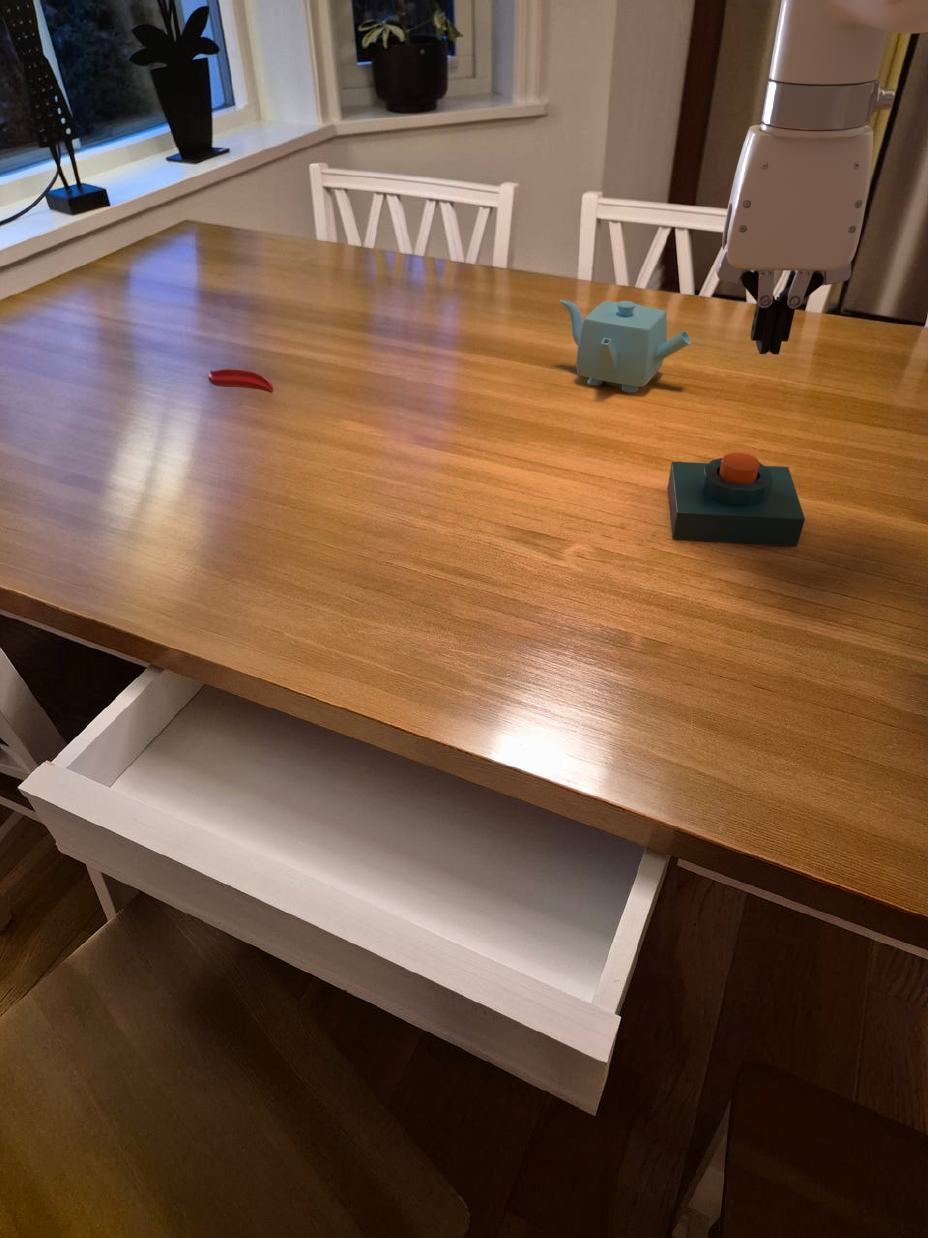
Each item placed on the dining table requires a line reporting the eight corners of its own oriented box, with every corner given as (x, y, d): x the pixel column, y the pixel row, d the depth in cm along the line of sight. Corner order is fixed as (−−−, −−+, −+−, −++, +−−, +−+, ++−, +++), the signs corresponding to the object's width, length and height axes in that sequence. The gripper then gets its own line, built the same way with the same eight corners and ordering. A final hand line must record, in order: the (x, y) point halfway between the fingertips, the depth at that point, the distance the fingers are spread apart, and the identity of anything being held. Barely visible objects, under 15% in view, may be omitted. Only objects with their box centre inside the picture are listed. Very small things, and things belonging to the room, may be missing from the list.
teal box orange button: (781, 492, 89) (792, 451, 86) (797, 546, 81) (809, 502, 78) (667, 487, 90) (673, 445, 87) (672, 539, 83) (679, 496, 80)
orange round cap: (753, 468, 84) (757, 453, 83) (758, 486, 81) (762, 471, 80) (717, 466, 85) (720, 451, 83) (720, 485, 82) (723, 469, 81)
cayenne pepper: (198, 377, 115) (195, 364, 114) (225, 366, 118) (222, 353, 117) (253, 400, 109) (250, 386, 108) (280, 388, 112) (278, 374, 111)
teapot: (696, 372, 113) (709, 297, 106) (664, 415, 103) (675, 335, 97) (573, 350, 120) (578, 278, 113) (532, 388, 110) (535, 312, 104)
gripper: (908, 98, 64) (846, 334, 76) (708, 101, 66) (678, 331, 78) (937, 115, 58) (865, 367, 70) (717, 117, 60) (683, 363, 72)
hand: (766, 348), depth 74 cm, fingers closed
